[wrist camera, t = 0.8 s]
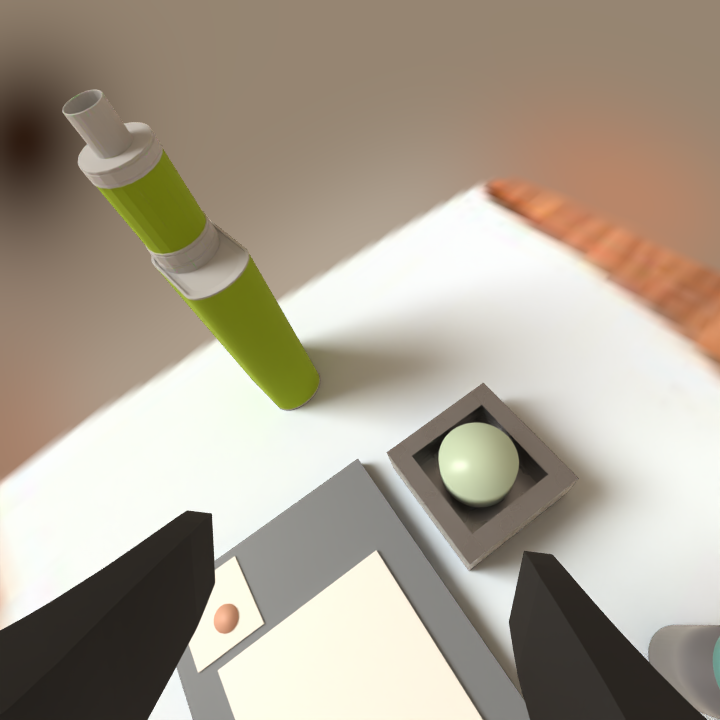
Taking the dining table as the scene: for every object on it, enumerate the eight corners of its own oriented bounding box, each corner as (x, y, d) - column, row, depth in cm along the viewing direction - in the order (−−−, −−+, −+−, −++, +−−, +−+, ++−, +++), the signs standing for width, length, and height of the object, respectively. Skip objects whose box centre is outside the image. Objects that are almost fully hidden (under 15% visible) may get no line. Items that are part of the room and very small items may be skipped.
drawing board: (633, 859, 17) (644, 875, 16) (341, 1146, 15) (332, 1186, 14) (361, 463, 28) (356, 457, 27) (166, 603, 26) (153, 602, 25)
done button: (531, 477, 23) (536, 466, 22) (472, 523, 23) (473, 515, 21) (480, 422, 26) (481, 408, 24) (425, 463, 25) (423, 451, 23)
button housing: (566, 493, 25) (578, 478, 22) (468, 571, 24) (469, 564, 21) (481, 404, 28) (483, 382, 26) (393, 468, 27) (386, 452, 25)
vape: (279, 338, 34) (104, 63, 17) (328, 382, 31) (174, 104, 15) (242, 370, 33) (21, 113, 17) (289, 418, 30) (77, 166, 14)
